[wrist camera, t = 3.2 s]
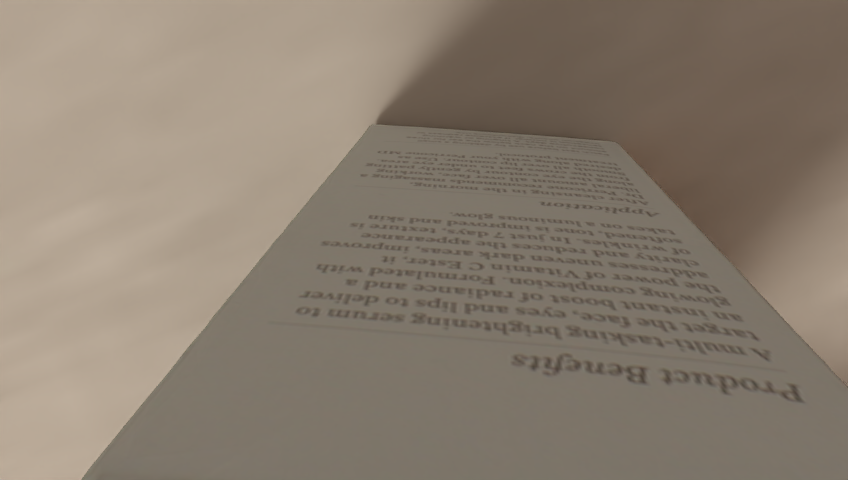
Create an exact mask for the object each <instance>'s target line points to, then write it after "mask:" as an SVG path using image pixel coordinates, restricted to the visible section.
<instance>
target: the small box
mask: <svg viewBox="0 0 848 480" xmlns="http://www.w3.org/2000/svg"><path fill="white" fill-rule="evenodd" d="M82 480H848V387H847V386H846V385H845V384H844V383H843V382H842V381H841V380H840V379H839V378H838V377H837V376H836V375H835V374H834V373H833V371H832V370H831V369H830V368H829V367H828V365H827V364H826V363H825V362H824V361H823V360H822V359H821V358H820V357H819V356H818V355H817V354H816V353H815V352H814V351H813V350H812V349H811V348H810V347H809V346H808V345H807V343H806V342H805V341H804V340H803V339H802V338H801V337H800V336H799V335H798V334H797V333H796V332H795V331H794V330H793V329H792V327H791V326H790V325H789V324H788V323H787V322H786V321H785V320H784V319H783V318H782V317H781V316H780V315H779V314H778V313H777V311H776V310H775V309H774V308H773V307H772V306H771V305H770V304H769V303H768V302H767V301H766V300H765V299H764V298H763V297H762V295H761V294H760V293H759V292H758V291H757V290H756V289H755V288H754V287H753V286H752V285H751V284H750V283H749V282H748V280H747V279H746V278H745V277H744V276H743V275H742V274H741V273H740V272H739V271H738V269H737V268H736V267H735V266H734V265H733V264H732V263H731V262H730V261H729V260H728V259H727V258H726V257H725V256H724V255H723V254H722V253H721V252H720V251H719V250H718V249H717V248H716V247H715V246H714V245H713V244H712V243H711V241H710V240H709V239H708V238H707V237H706V236H705V235H704V234H703V233H702V232H701V230H700V229H699V228H698V227H697V226H696V225H695V224H694V223H693V222H692V221H691V220H690V219H689V218H688V217H687V216H686V215H685V214H684V213H683V212H682V210H681V209H680V208H679V207H678V206H677V205H676V204H675V203H674V202H673V201H672V200H671V199H670V198H669V197H668V196H667V195H666V194H665V193H664V191H663V190H662V189H661V188H660V187H659V186H658V185H657V184H656V183H655V182H654V181H653V180H652V179H651V178H650V177H649V176H648V174H647V173H646V172H645V171H644V170H643V169H642V168H641V167H640V166H639V165H638V164H637V163H636V162H635V161H634V160H633V159H632V158H631V157H630V156H629V154H628V153H627V152H626V151H625V150H624V149H623V148H622V147H621V146H620V145H619V144H618V143H616V142H611V141H600V140H589V139H577V138H566V137H553V136H540V135H527V134H512V133H498V132H483V131H469V130H455V129H441V128H428V127H412V126H393V125H380V124H379V125H371V126H370V127H369V128H368V129H367V131H366V132H365V133H364V134H363V136H362V137H361V138H360V139H359V141H358V142H357V143H356V144H355V146H354V147H353V148H352V149H351V150H350V151H349V153H348V154H347V155H346V156H345V157H344V159H343V160H342V161H341V162H340V164H339V165H338V166H337V167H336V169H335V170H334V171H333V172H332V173H331V174H330V176H329V177H328V178H327V179H326V180H325V182H324V183H323V184H322V185H321V186H320V187H319V189H318V190H317V191H316V192H315V194H314V195H313V196H312V197H311V198H310V200H309V201H308V202H307V204H306V205H305V206H304V207H303V208H302V209H301V211H300V212H299V213H298V214H297V215H296V217H295V218H294V219H293V220H292V221H291V222H290V224H289V225H288V226H287V228H286V229H285V230H284V232H283V233H282V234H281V235H280V236H279V237H278V238H277V239H276V240H275V242H274V243H273V244H272V245H271V247H270V248H269V249H268V251H267V252H266V253H265V254H264V255H263V257H262V258H261V259H260V260H259V262H258V263H257V264H256V265H255V267H254V268H253V269H252V270H251V272H250V273H249V274H248V275H247V277H246V278H245V279H244V280H243V281H242V283H241V284H240V285H239V286H238V287H237V289H236V290H235V291H234V292H233V293H232V295H231V296H230V297H229V298H228V299H227V301H226V302H225V303H224V304H223V306H222V307H221V308H220V309H219V310H218V312H217V313H216V314H215V315H214V316H213V318H212V319H211V320H210V322H209V323H208V325H207V326H206V327H205V329H204V330H203V331H202V332H201V333H200V334H199V336H198V337H197V338H196V339H195V340H194V341H193V342H192V344H191V345H190V346H189V347H188V348H187V350H186V351H185V352H184V353H183V355H182V356H181V357H180V359H179V360H178V361H177V362H176V364H175V365H174V366H173V368H172V369H171V370H170V371H169V373H168V374H167V375H166V376H165V378H164V379H163V380H162V381H161V382H160V384H159V385H158V386H157V387H156V388H155V389H154V391H153V392H152V393H151V394H150V395H149V397H148V398H147V399H146V400H145V401H144V403H143V404H142V405H141V406H140V408H139V409H138V410H137V411H136V412H135V414H134V415H133V416H132V417H131V419H130V420H129V421H128V422H127V423H126V425H125V426H124V427H123V428H122V430H121V431H120V432H119V433H118V434H117V436H116V437H115V438H114V439H113V440H112V442H111V443H110V444H109V445H108V447H107V448H106V449H105V450H104V451H103V453H102V454H101V455H100V456H99V458H98V459H97V460H96V461H95V462H94V464H93V465H92V466H91V467H90V469H89V470H88V471H87V473H86V474H85V475H84V477H83V478H82Z"/></svg>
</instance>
